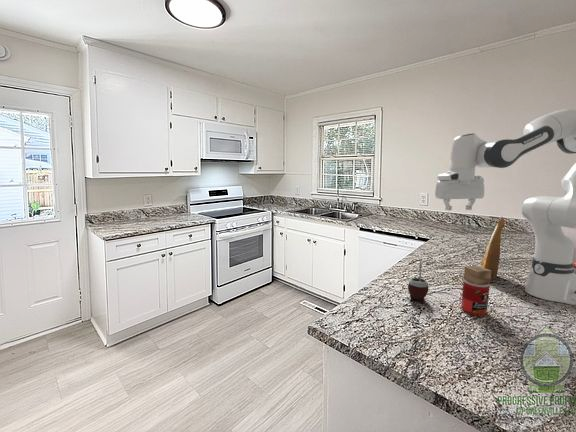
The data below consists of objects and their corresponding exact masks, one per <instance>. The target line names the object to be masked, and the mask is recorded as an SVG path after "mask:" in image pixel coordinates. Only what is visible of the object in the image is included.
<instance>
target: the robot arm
mask: <svg viewBox="0 0 576 432" xmlns="http://www.w3.org/2000/svg"><path fill="white" fill-rule="evenodd" d="M554 142H556V145H557V147H558V148H559V149H560V150H561V152H563V153H565V154H568V155H569V154H571V155H573V154H576V109H574V108H563V109H560V110H556V111H552V112H549V113H546V114H545V115H542V116H539V117H538V118H535V119H533V120H532V121H530V122H528V123H527V124H525V126H524V128H523V132H522V135H521V136H519V137H516V138H514V139H509V138H506V139H500V140H497V141H496V140H495V141H486V140H483V139H482V138H480V137H478V135H477V134H476V133H473V132H472V133H467V134H461V135H458V136H456V137H454V139H453V141H452V145H451V151H450V160H451V162H450V166H449V170H448V171H446V172H445V171H444V172H443V173H440V174H438V175H437V180H438V181H437V182H436V185H435V191H434V196H435V198H436V199H438V200H443V203H444V205H445V211H452V210H453V209H452V208H453V205H451V204H450V202H451V200H468V204H466V205H465V210H466V211H467V210H468V211H472V209H473V205H474V204H475V202H476V199H479V200H480V199H483V198H484V197H485V183H484V182H485V180H484V177H482V176H481V175H476V167H477V168H498V169H499V168H500V169H504V168H505V169H506V168H508V167H511V166H512V165H513V164H514V163H516V162H517V160H519V159H520V158H521V157H522V156H524V155H525V154H528V153H530V152H532V151H534V150H536V149H538V148H541V147H542V146H547V145H550V144H551V143H552V144H553V143H554ZM560 185H561V189H562V190H563V191H564V192H565V193H566V194H565V195H563V196H549V195H548V196H547V195H539V196H532V197H528V198H527V199H525V200H524V201H523V204H521V205H522V206H521V214H522V216H523V217H524V218H525V220H527V222H528V223H529V224H530V226H531V228H532V231H533V233H534V237H535V247H534V254H533V255H534V256H533V257H532V260H531V267H532V268H530V269H529V271H528V277H527V280H526V282H525V283H524V284H523V287H524V292H526V293H527V294H529V295H531V296H533V297H536V298H539V299H542V300H546V301H550V302H557V303H561V304H567V305H572V306H575V305H576V273H575V269H576V262H573V255H574V250H575V249H574V248H575V244H574V241H573V240H572V239H571V238H569V237H568V236H567V235H566V234H565V233H564V232H563V229H562V228H569V229H573V230H574V229H575V230H576V162H574V164H573V165H572V166H571V168H569V170H568V171H567V172H566V174H565V175H564V176H563V178H562V179H561V182H560Z"/></svg>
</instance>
